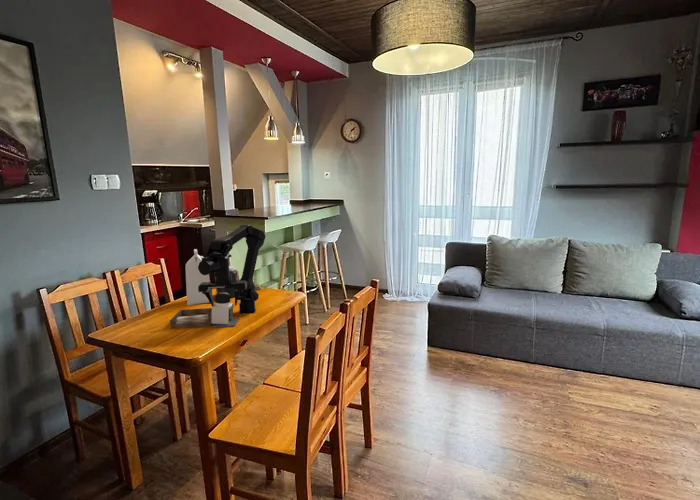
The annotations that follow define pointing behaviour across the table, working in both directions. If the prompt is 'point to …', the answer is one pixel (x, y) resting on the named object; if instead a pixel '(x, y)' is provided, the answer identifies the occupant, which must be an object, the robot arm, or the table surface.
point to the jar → (234, 278)
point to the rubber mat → (231, 324)
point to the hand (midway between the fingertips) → (224, 305)
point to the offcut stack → (192, 319)
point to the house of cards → (256, 286)
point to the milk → (195, 280)
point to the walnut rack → (191, 313)
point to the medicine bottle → (222, 309)
